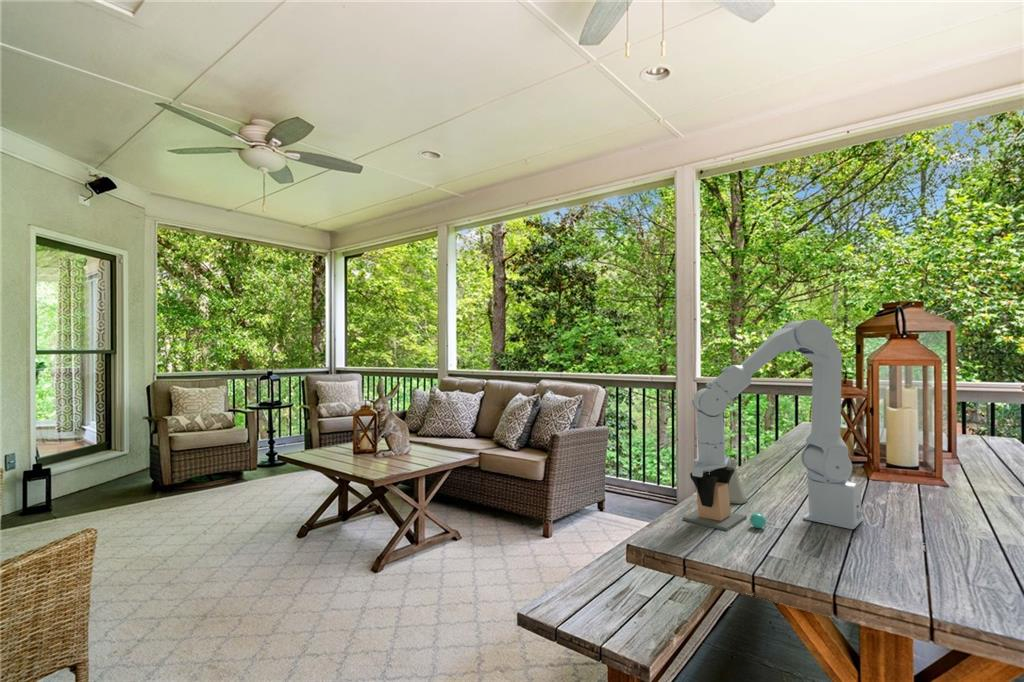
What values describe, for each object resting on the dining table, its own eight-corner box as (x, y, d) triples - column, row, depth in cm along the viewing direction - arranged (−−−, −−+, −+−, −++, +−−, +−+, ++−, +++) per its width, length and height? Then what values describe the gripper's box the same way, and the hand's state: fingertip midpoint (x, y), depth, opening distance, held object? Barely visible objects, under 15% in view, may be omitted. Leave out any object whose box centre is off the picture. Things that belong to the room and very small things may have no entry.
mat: (746, 518, 108) (746, 515, 108) (726, 530, 102) (726, 528, 102) (703, 508, 116) (703, 506, 116) (682, 519, 109) (682, 517, 109)
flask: (744, 506, 116) (742, 464, 117) (713, 501, 121) (711, 461, 121) (751, 498, 122) (749, 458, 122) (721, 494, 127) (719, 455, 127)
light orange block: (730, 514, 108) (727, 483, 109) (721, 520, 105) (717, 488, 105) (709, 511, 112) (706, 480, 113) (699, 516, 109) (696, 485, 109)
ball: (768, 527, 102) (767, 513, 103) (762, 531, 100) (762, 517, 101) (753, 524, 105) (753, 510, 105) (747, 528, 103) (747, 513, 103)
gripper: (708, 435, 117) (711, 491, 117) (678, 444, 107) (680, 506, 107) (738, 438, 112) (741, 497, 111) (708, 449, 102) (711, 513, 102)
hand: (713, 502), depth 109 cm, fingers open, 6 cm apart
